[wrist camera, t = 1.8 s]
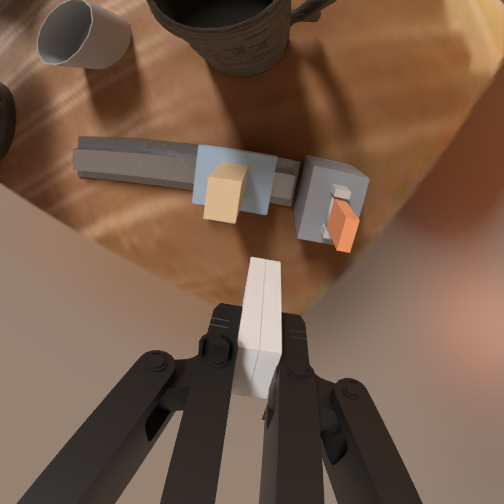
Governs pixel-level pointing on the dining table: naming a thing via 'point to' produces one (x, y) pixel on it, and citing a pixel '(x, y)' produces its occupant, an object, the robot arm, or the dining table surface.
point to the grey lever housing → (325, 195)
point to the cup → (83, 36)
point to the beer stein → (235, 29)
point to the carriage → (232, 182)
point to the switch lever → (341, 224)
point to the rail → (161, 164)
